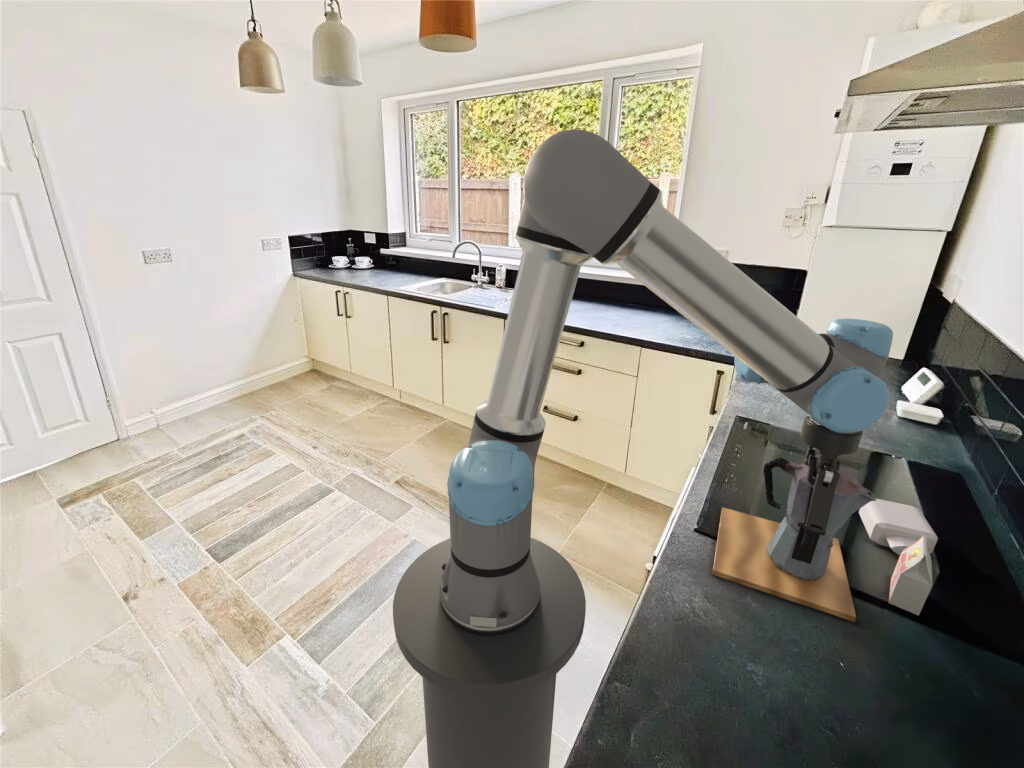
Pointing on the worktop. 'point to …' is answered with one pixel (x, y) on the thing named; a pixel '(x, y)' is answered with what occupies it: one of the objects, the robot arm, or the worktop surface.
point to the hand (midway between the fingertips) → (798, 539)
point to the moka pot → (781, 545)
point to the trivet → (751, 566)
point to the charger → (896, 525)
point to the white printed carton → (912, 578)
